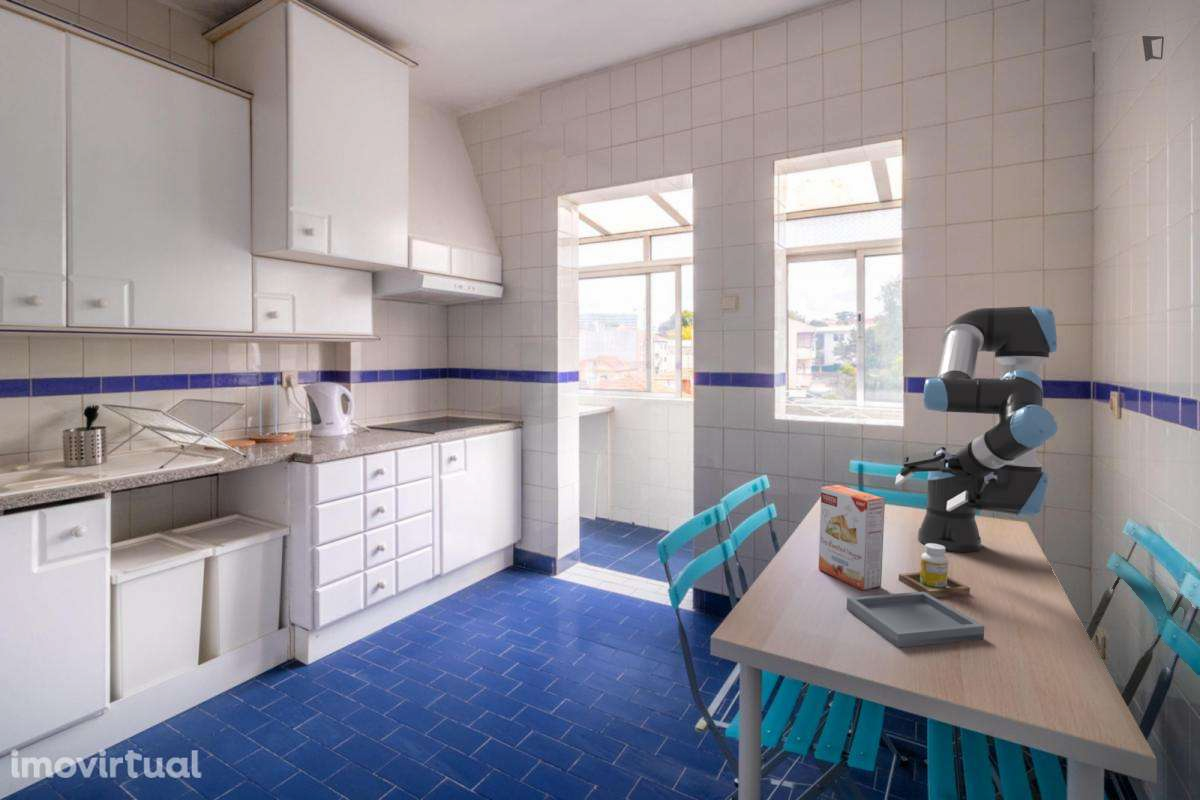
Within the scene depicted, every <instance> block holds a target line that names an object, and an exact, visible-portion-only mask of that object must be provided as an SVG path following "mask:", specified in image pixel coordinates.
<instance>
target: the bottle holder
mask: <svg viewBox="0 0 1200 800" xmlns="http://www.w3.org/2000/svg"><path fill="white" fill-rule="evenodd" d="M920 572H921V571H920ZM920 572H918V571H917V572H908V573H907V572H905V573H899V574H898V581H900V582H901V583H902V584H904V585H907V586H908V587H910V588H911V589H913V590H915V591H916V592H926V593H928V594H929V595H931V596H933V597H935V598H942V597H943V598H946V597H955V596H956V597H958V596H967V595H968V596H969V595H970V592H971V590H970V589H971V588H970V587H969V586H967V585H965V584H963V583H961V582H960V581H957V580H956V579H953V578H951V577H950V576H947V586H948V587H947V588H937V589H929V588H928V587H926V586H924V585H922V584H920Z"/></svg>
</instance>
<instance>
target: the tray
mask: <svg viewBox="0 0 1200 800" xmlns="http://www.w3.org/2000/svg"><path fill="white" fill-rule="evenodd" d="M846 610H847V611H848V612H849V613H851V615H854V616H855V617H856V618H858V619H859V620H860V621H861V622H863V623H864V624H866V625H867V626H868V627H870V628H871V629H872V630H874V631H875V632H876V633H878V634H879V635H880V636H882V637H883V638H884V639H885V640H886V641H888V642H890V643H891V644H892V645H894V647H897V648H905V647H916V646H917V647H918V646H926V645H935V644H936V645H938V644H945V643H955V642H956V643H957V642H967V641H976V640H977V639H978V640H984V639H983V638H985V629H986V627H985V625H984V624H982V623H980V622H978V621H976V620H974V619H973V618H971V617H969V616H968V615H966V614H964V613H963V612H961V611H959V610H957V609H956V608H954V607H952V606H950V605H948V604H947V603H945V602H944V601H941V600H940V599H938V598H937V597H933V596H931V595H929V594H928V593H926V592H918V591H914V592H913V591H912V592H903V593H901V592H900V593H889V594H888V593H887V594H879V595H878V594H877V595H874V594H873V595H864V596H852V597H850V596H849V597H847V598H846Z"/></svg>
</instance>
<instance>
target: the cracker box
mask: <svg viewBox="0 0 1200 800" xmlns="http://www.w3.org/2000/svg"><path fill="white" fill-rule="evenodd" d="M820 488H821V489H820V513H819V514H820V515H819V518H820V519H819V544H818V547H819V548H818V570H819V571H822V572H823V573H826V574H828V575H829V576H833V577H834V578H836V579H838V580H840V581H842V582H845V583H847V584H848V585H851V586H853V587H855V588H857V589H860V590H861V591H867V590H871V589H875V588H880V587H882V578H883V577H882V574H883V573H882V571H883V554H884V553H883V551H884V549H883V548H884V531H885V529H884V527H885V511H886V510H885V509H886V508H885V506H886V503H885V502H886V499H885V498H884V497H881V496H877V495H874V494H870V493H867V492H864V491H860V490H858V489H854V488H851V487H847V486H844V485H840V484H836V485H835V484H834V485H825V486H821V487H820Z"/></svg>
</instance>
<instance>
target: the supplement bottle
mask: <svg viewBox="0 0 1200 800" xmlns="http://www.w3.org/2000/svg"><path fill="white" fill-rule="evenodd" d="M924 551H925V552H923V553H922V554H921V556H920V557H921V558H920V580H919V583H920V584H922V585H924V586H926V587H928V588H929V589H937V588H948V587H947V586H948V585H947V577H948V568H949V559H948V557H947V556H946V550H945V547H944V546H942V545H939V544H933V543H928V544H926V545H925V544H924Z"/></svg>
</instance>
